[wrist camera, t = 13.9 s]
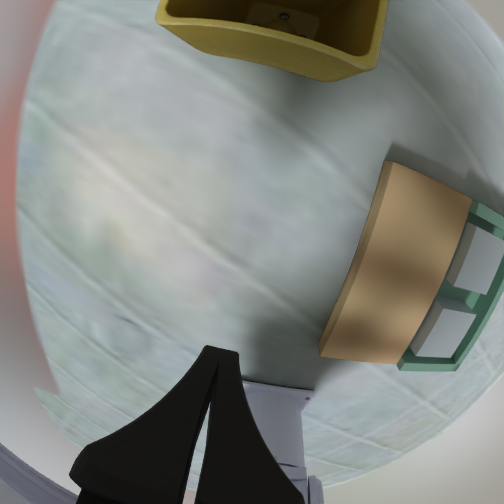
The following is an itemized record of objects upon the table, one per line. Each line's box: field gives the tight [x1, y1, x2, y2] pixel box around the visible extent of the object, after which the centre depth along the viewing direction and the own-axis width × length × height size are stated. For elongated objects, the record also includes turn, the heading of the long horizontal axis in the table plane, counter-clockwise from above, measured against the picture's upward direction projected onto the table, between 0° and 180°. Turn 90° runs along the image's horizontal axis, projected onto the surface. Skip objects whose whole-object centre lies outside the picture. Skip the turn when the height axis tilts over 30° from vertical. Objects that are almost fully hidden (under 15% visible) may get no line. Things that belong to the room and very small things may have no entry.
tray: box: [397, 200, 504, 371], centre depth 19 cm, size 16×8×2 cm, turn 167°
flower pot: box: [155, 0, 389, 82], centre depth 10 cm, size 9×9×9 cm
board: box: [318, 160, 472, 364], centre depth 19 cm, size 16×8×2 cm, turn 167°
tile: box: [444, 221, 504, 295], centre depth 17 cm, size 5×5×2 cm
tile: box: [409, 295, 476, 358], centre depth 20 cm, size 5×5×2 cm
